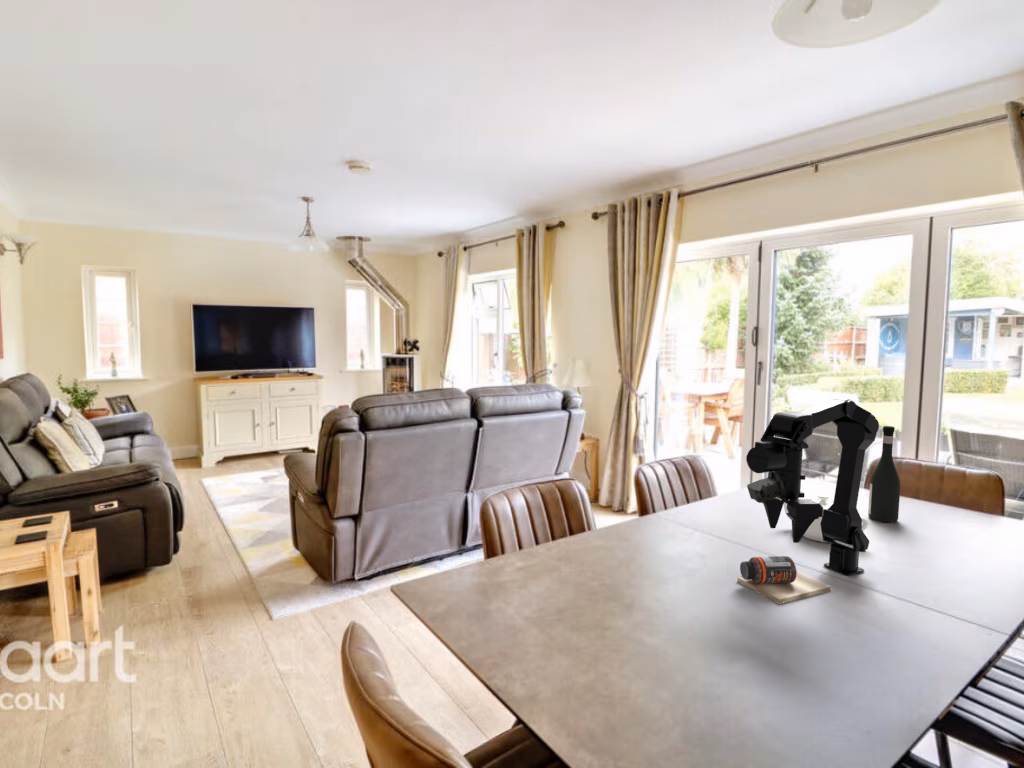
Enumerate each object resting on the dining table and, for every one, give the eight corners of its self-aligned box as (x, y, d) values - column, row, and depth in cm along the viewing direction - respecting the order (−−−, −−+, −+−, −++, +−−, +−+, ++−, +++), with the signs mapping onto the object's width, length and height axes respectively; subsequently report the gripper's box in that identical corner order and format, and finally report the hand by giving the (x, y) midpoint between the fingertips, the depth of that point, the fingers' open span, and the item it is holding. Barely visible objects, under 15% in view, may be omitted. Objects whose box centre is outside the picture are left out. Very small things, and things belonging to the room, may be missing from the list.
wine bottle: (862, 517, 178) (867, 425, 175) (877, 514, 181) (883, 423, 179) (888, 525, 171) (894, 429, 168) (903, 521, 174) (910, 427, 172)
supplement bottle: (795, 588, 127) (747, 590, 127) (782, 571, 133) (736, 572, 132) (800, 567, 125) (751, 568, 125) (786, 550, 131) (739, 552, 130)
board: (786, 570, 138) (786, 566, 138) (830, 590, 127) (830, 586, 127) (737, 581, 132) (737, 577, 131) (779, 603, 121) (779, 599, 120)
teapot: (875, 542, 157) (878, 500, 156) (855, 555, 147) (858, 510, 146) (786, 519, 176) (788, 481, 175) (763, 529, 166) (765, 489, 165)
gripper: (733, 459, 134) (730, 522, 136) (776, 479, 116) (773, 551, 117) (777, 459, 135) (774, 521, 137) (826, 478, 117) (822, 550, 118)
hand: (783, 535), depth 127 cm, fingers open, 9 cm apart
